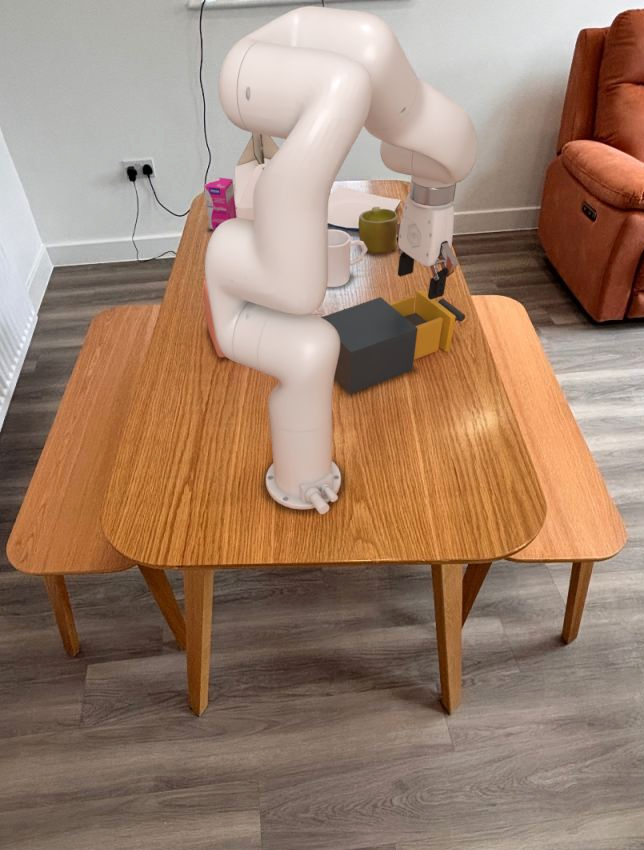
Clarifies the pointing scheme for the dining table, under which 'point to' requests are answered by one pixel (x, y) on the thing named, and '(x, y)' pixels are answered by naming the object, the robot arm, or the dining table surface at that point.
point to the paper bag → (251, 172)
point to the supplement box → (219, 201)
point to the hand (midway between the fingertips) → (420, 285)
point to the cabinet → (372, 344)
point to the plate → (354, 207)
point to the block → (415, 319)
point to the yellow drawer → (430, 322)
